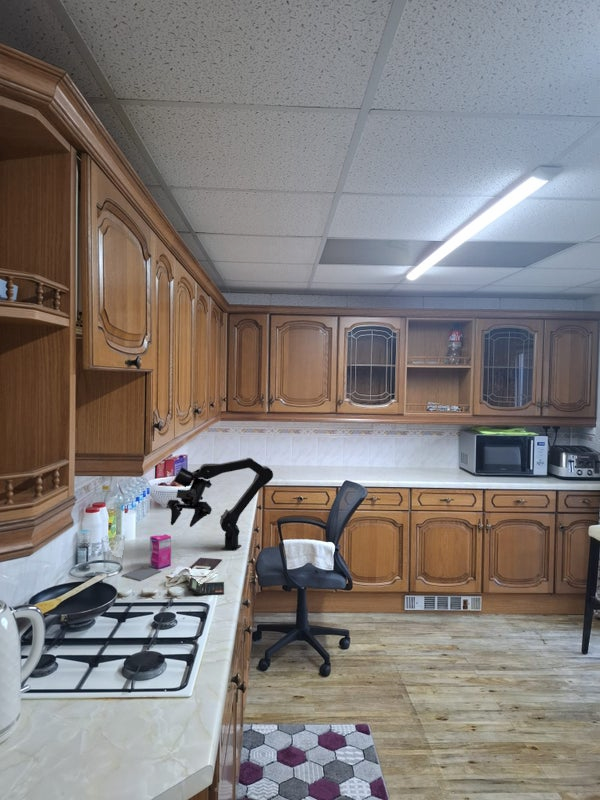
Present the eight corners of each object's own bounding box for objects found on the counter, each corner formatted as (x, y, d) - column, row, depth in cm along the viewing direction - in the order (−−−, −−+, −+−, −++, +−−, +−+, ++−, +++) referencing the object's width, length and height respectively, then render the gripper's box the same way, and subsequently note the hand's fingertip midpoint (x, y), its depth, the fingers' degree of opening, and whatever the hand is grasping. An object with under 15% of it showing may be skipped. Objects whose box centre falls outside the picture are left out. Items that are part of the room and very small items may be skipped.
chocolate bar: (221, 559, 192) (206, 576, 174) (221, 561, 192) (206, 578, 174) (200, 557, 193) (182, 574, 175) (200, 560, 193) (182, 576, 175)
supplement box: (149, 566, 184) (149, 536, 184) (162, 562, 189) (162, 532, 188) (157, 569, 180) (158, 539, 180) (171, 565, 185) (171, 535, 185)
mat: (142, 567, 182) (142, 566, 182) (160, 571, 178) (160, 570, 178) (121, 576, 174) (121, 574, 174) (140, 580, 169) (140, 579, 169)
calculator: (223, 595, 159) (224, 586, 159) (187, 597, 158) (187, 587, 158) (223, 584, 169) (224, 575, 169) (189, 585, 167) (189, 577, 167)
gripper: (168, 480, 200) (151, 513, 191) (205, 481, 193) (190, 517, 183) (181, 494, 208) (166, 527, 198) (218, 496, 200) (203, 531, 191)
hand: (180, 525), depth 192 cm, fingers open, 9 cm apart
